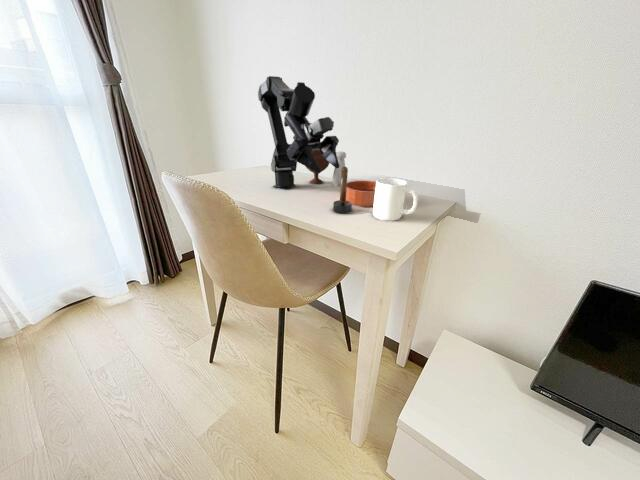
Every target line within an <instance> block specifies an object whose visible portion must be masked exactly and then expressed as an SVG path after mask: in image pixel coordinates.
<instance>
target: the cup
mask: <svg viewBox="0 0 640 480" xmlns="http://www.w3.org/2000/svg"><path fill="white" fill-rule="evenodd" d="M375 182H376V189H375V197H374V206H372V215H373V217H375V218H377V219H378V220H382V221H388V222H389V221H391V222H393V221H398V220H400V219H401V217H402V215H410V214H413V213H414V212H415V211H416V209H417V207H418V201H419V199H418V193H417V191H415V189H412V188H407V187H408V181H406V180H404V179H402V178H396V177H395V178H394V177H380V178H378V179H376V181H375ZM406 194H409V195H412V198H413V201H412V202H413V203H412V206H411V208H410V209H405V208H404V205H405V199H406Z"/></svg>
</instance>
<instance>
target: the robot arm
mask: <svg viewBox="0 0 640 480" xmlns="http://www.w3.org/2000/svg"><path fill="white" fill-rule="evenodd" d="M257 97H258V101H259V102H260V105H261V108H262V109H263V110H264V111H265V112H266V113H267V116H268V120H269V125H270V129H271V134H272V137H273V143H274V147H275V148H274V151H273V154H272V157H271V163H270V169H271V171H272V172H273V173H274V182H275V184H274V185H273V186H272V187H273V188H277V189H281V190H289V189H291V188H293V187H296V183H295V175H294V172H296V171H297V168H298V167H297V166H298V164H301V165H302V166H306V167H308V168H310V169H312V170H313V171H315V172H317V173H318V175H319V174H321V173H322V172H321V169H320V167H319V165H318V164H317V162H316V160H315V158H314V157H313V155H312V151H313V150H319V152H320V153H321V154H323V155H322V156H323V157H324V158H325V159H326V160H327V161H328V162H329V164H330V165H331V166H333V167H334V169H335V168H337V169H338V168H339V167H340V166H339V162H338V159H337V155H336V152H337V151H336V149H337V147H338V145H339V142H340V139H339V138H338V137H337V135H326V136H325V135H324V134H326V133H328V132H331V131H332V130H334V129H333V128H334V126H335V121H333V120H332V118H331V117H330V116H325V117H321V118H318V119H316V120H314V121H313V122H310V121H309V120H308V118H307V116H309V115H310V112H311V109H312V106H313V104H314V101H315V99H316V93H315V91H314V90H313V89H312V88H310V87H309V86H307V85H306V83H305V82H301V81H298V82H297V83H296V86H295V87H294V88H290V87H289V86H288V84H287V83H286V82H284V80H283V78H282V77H281V76H276V75H275V76H273V75H268V76H266V79H265V81H263V82H262V83H260V84H259V87H258V92H257ZM281 112H286V113H285V116H284V118H283V119H284V120H283V119H282V115H281ZM284 127H285V128H287V127H288V128H289V129H290V130H291V132H292V134H293V137H292V139H293V141H292V142H291V143H288V140H287V136H286V132H285V128H284ZM321 140H322V141H321ZM306 167H305V168H306Z"/></svg>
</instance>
